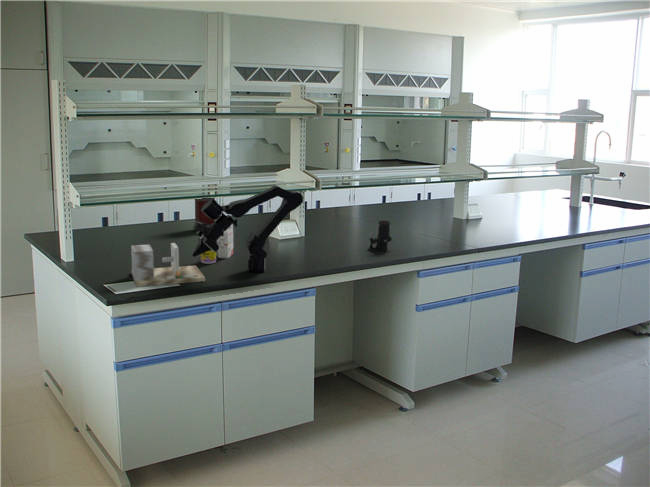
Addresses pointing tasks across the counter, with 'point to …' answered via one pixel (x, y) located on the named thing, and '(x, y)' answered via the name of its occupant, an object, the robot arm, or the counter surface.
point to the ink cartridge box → (226, 244)
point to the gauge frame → (158, 270)
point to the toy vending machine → (199, 214)
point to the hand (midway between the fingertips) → (192, 256)
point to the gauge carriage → (173, 259)
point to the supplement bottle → (208, 257)
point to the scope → (381, 237)
